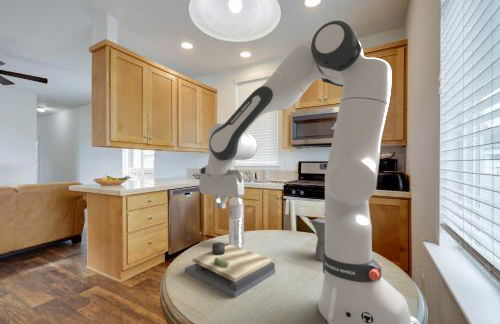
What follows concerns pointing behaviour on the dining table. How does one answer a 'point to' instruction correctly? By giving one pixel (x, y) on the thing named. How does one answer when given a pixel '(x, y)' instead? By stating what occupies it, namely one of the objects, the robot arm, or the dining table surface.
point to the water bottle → (236, 222)
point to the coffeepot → (319, 237)
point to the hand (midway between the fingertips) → (220, 207)
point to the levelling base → (228, 285)
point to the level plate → (231, 261)
